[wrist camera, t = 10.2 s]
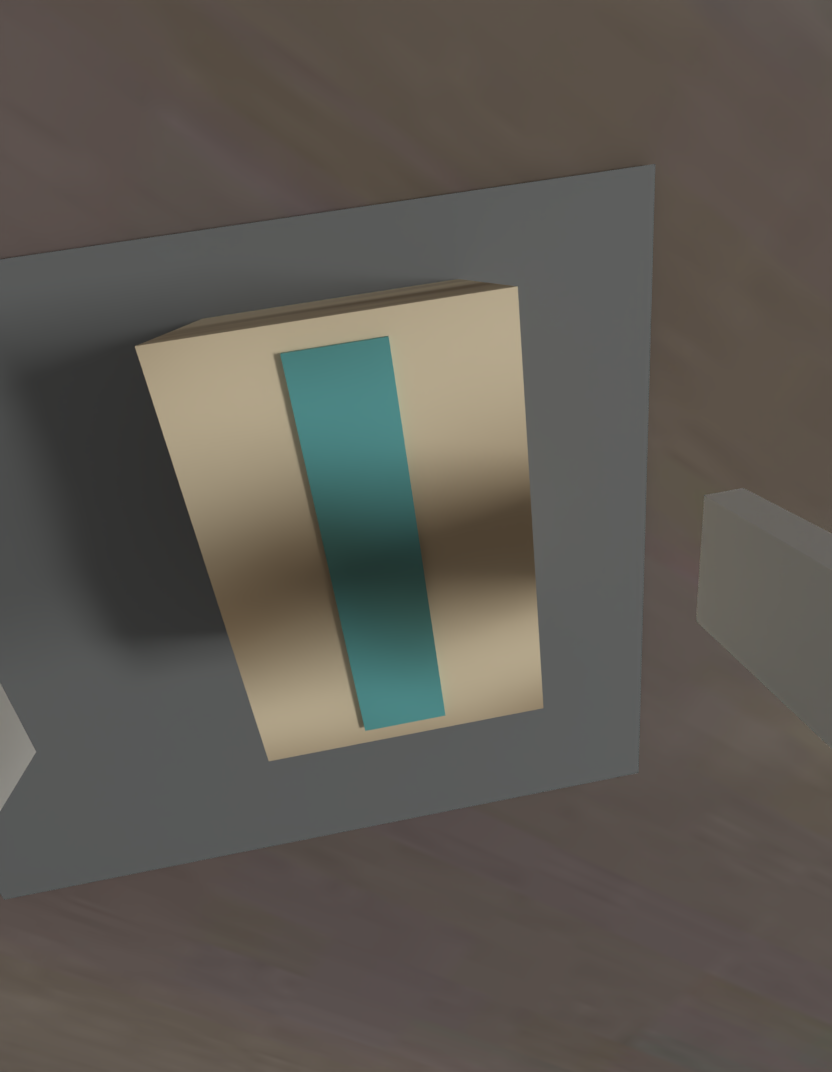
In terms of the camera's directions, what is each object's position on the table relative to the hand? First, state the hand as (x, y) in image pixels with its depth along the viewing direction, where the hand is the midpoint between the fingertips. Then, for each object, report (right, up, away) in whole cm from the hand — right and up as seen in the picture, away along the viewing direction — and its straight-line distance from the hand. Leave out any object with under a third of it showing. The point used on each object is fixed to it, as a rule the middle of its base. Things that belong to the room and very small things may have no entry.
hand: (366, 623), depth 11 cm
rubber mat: (-4, -1, +9) cm, 10 cm away
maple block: (-1, +4, +7) cm, 8 cm away
